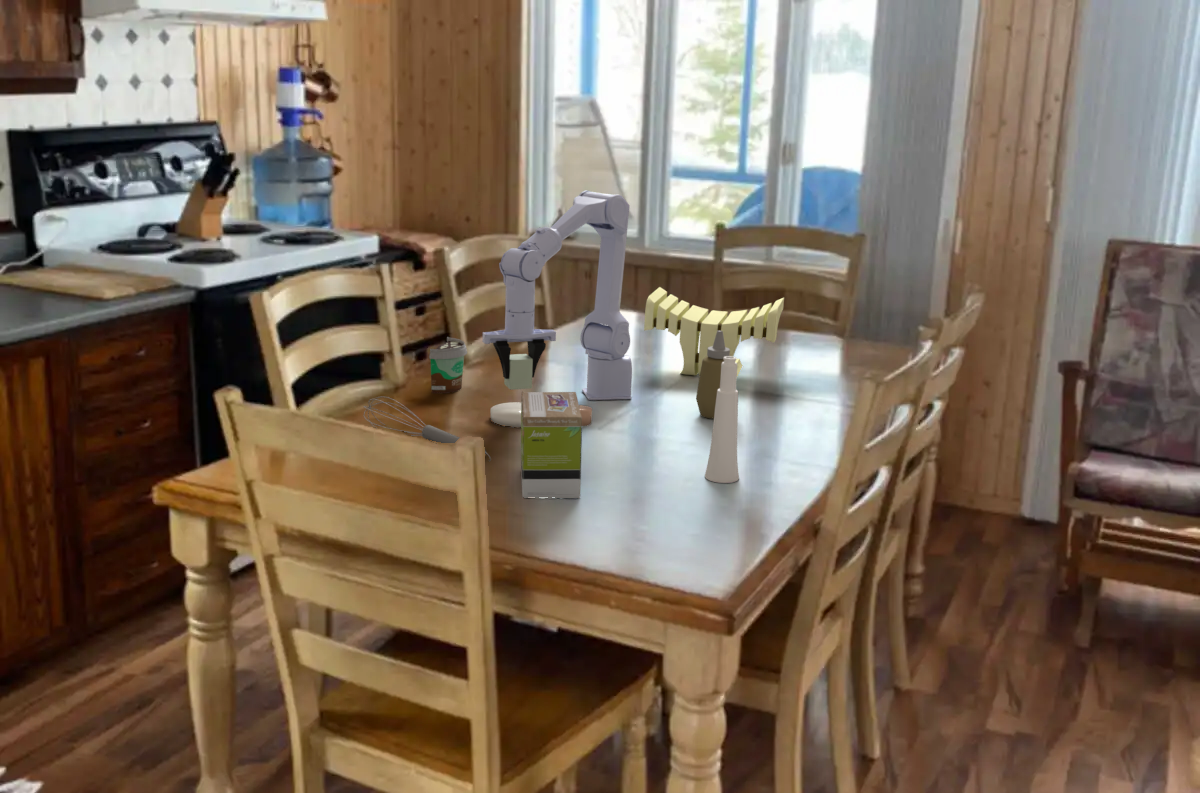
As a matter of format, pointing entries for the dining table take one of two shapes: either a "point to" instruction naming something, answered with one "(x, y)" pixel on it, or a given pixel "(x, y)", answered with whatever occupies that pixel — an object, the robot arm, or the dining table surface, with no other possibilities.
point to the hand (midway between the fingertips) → (518, 376)
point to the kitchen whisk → (427, 431)
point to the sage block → (519, 372)
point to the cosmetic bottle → (725, 428)
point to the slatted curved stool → (708, 326)
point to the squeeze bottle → (711, 376)
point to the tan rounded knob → (586, 415)
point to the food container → (447, 366)
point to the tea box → (551, 445)
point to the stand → (507, 414)
